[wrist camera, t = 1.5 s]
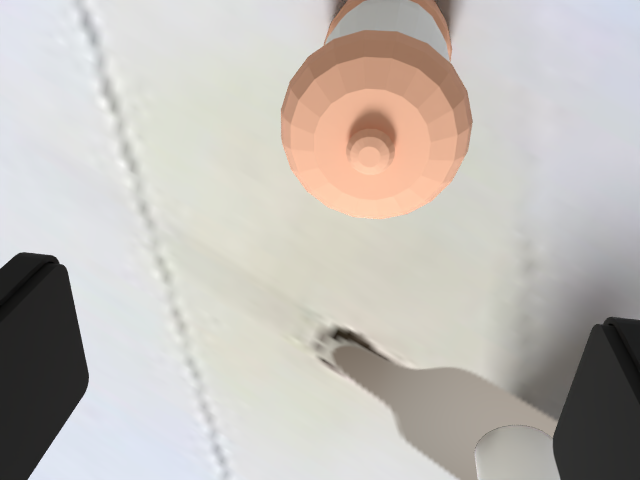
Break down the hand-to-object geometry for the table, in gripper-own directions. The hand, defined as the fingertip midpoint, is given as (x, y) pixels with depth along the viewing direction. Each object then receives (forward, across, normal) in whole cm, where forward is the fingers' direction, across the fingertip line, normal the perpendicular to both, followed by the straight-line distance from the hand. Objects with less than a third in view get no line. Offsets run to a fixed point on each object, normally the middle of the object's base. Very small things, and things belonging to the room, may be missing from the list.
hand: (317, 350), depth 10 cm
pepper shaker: (+29, -1, 0) cm, 29 cm away
